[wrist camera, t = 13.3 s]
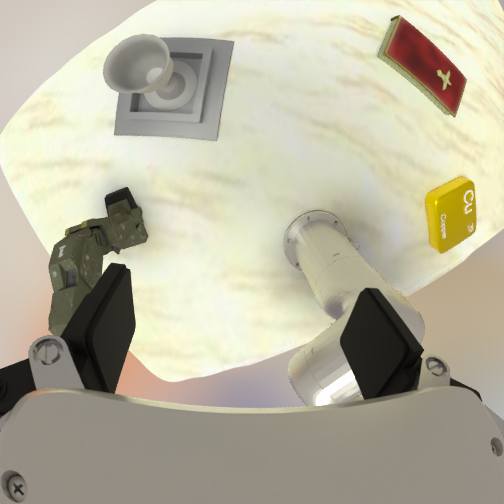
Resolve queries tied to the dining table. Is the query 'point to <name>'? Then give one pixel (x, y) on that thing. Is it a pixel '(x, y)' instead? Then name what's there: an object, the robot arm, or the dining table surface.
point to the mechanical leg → (90, 254)
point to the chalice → (143, 68)
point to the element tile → (451, 213)
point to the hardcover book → (423, 65)
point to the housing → (189, 102)
